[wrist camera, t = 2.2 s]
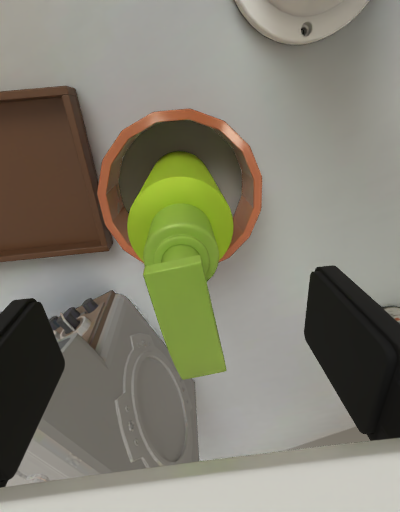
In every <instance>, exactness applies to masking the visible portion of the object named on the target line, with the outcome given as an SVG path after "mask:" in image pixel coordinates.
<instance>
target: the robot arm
mask: <svg viewBox="0 0 400 512" xmlns="http://www.w3.org/2000/svg"><path fill="white" fill-rule="evenodd" d="M369 1H370V0H235V2H236V4H237V6H238V8H239V10H240V12H241V13H242V14H243V16H244V17H245V18H246V19H247V21H248V22H249V23H250V24H251V25H252V26H253V27H254V28H255V29H256V30H258V31H259V32H260V33H261V34H262V35H264V36H266V37H268V38H270V39H272V40H274V41H276V42H280V43H284V44H289V45H301V44H308V43H312V42H316V41H319V40H321V39H323V38H325V37H327V36H329V35H331V34H333V33H335V32H336V31H338V30H339V29H341V28H343V27H344V26H346V25H347V24H348V23H349V22H350V21H351V20H352V19H354V18H355V17H356V16H357V15H358V14H359V13H360V12H361V11H362V9H363V8H364V7H365V6H366V5H367V3H368V2H369ZM301 29H304V31H305V33H304V36H303V35H302V33H301ZM304 335H305V339H306V342H307V343H308V345H309V347H310V348H311V350H312V352H313V354H314V355H315V357H316V359H317V360H318V362H319V364H320V365H321V367H322V369H323V370H324V372H325V374H326V376H327V377H328V379H329V381H330V382H331V384H332V386H333V387H334V389H335V391H336V392H337V394H338V396H339V397H340V399H341V401H342V403H343V404H344V406H345V408H346V409H347V411H348V413H349V414H350V416H351V418H352V419H353V421H354V423H355V425H356V426H357V428H358V429H359V431H360V432H361V433H363V434H367V435H368V437H369V439H370V441H365V442H355V443H346V444H337V445H328V446H320V447H312V448H303V449H295V450H287V451H279V452H271V453H263V454H255V455H246V456H238V457H230V458H222V459H215V460H207V461H199V462H191V463H183V464H175V465H168V466H160V467H152V468H144V469H137V470H129V471H121V472H113V473H106V474H98V475H91V476H83V477H76V478H68V479H61V480H54V481H46V482H39V483H31V484H24V485H16V486H9V487H5V486H6V484H7V482H8V480H9V479H11V478H13V477H14V475H15V474H16V472H17V470H18V468H19V466H20V464H21V462H22V459H23V457H24V455H25V453H26V451H27V449H28V446H29V444H30V442H31V440H32V438H33V436H34V434H35V431H36V429H37V427H38V425H39V423H40V421H41V418H42V416H43V414H44V412H45V410H46V408H47V406H48V403H49V401H50V399H51V397H52V395H53V393H54V390H55V388H56V386H57V384H58V382H59V380H60V378H61V375H62V373H63V371H64V368H65V359H64V357H63V354H62V352H61V349H60V347H59V344H58V342H57V340H56V337H55V335H54V332H53V330H52V327H51V325H50V323H49V320H48V318H47V315H46V313H45V310H44V308H43V306H42V304H41V303H40V302H37V301H36V300H35V299H33V298H30V299H21V300H14V301H12V302H11V303H10V304H9V305H8V306H7V307H6V308H5V309H4V311H3V312H2V313H1V314H0V512H400V323H399V322H397V321H396V320H395V319H394V318H393V317H392V316H391V315H390V314H389V313H387V312H386V311H385V310H384V309H383V308H382V307H381V306H380V305H379V304H377V303H376V302H375V301H374V300H373V299H372V298H371V297H370V296H369V295H367V294H366V293H365V292H364V291H363V290H362V289H361V288H360V287H358V286H357V285H356V284H355V283H354V282H353V281H352V280H351V279H350V278H348V277H347V276H346V275H345V274H344V273H343V272H342V271H341V270H340V269H338V268H337V267H336V266H323V267H317V268H316V269H315V272H312V273H311V275H310V282H309V292H308V301H307V310H306V319H305V328H304Z"/></svg>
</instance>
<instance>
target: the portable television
mask: <svg viewBox="0 0 400 512" xmlns="http://www.w3.org/2000/svg"><path fill="white" fill-rule="evenodd" d="M60 315H61V316H60V317H57V316H54V317H52V318H50V319H49V323H50V325H51V327H52V330H53V332H54V335H55V337H56V340H57V342H58V344H59V347H60V349H61V352H62V354H63V357H64V359H65V368H64V371H63V373H62V375H61V378H60V380H59V382H58V384H57V386H56V388H55V390H54V393H53V395H52V397H51V399H50V401H49V403H48V406H47V408H46V410H45V412H44V414H43V416H42V418H41V421H40V423H39V425H38V427H37V429H36V431H35V434H34V436H33V438H32V440H31V442H30V444H29V446H28V449H27V451H26V453H25V455H24V457H23V459H22V462H21V464H20V466H19V468H18V470H17V472H16V474H15V475H14V477H13V478H11V479H9V480H8V482H7V484H6V486H5V487H9V486H16V485H24V484H31V483H39V482H46V481H54V480H61V479H68V478H76V477H83V476H91V475H98V474H106V473H113V472H121V471H129V470H137V469H144V468H152V467H160V466H168V465H175V464H183V463H191V462H199V448H198V431H197V414H196V397H195V382H194V381H193V379H192V378H190V379H185V380H182V378H181V377H180V375H179V373H178V371H177V369H176V367H175V365H174V363H173V360H172V358H171V356H170V353H169V351H168V348H167V347H166V346H165V344H164V343H163V342H162V341H161V339H160V338H159V337H158V336H157V334H156V333H155V332H154V331H153V329H152V328H151V327H150V326H149V324H148V323H147V322H146V321H145V319H144V318H143V317H142V316H141V314H140V313H139V312H138V311H137V309H136V308H135V307H134V306H133V304H132V303H131V302H130V301H129V299H127V298H126V297H125V296H123V295H121V294H115V293H114V292H113V290H112V291H110V292H108V293H106V294H104V295H102V296H100V297H98V298H96V299H94V300H92V299H91V298H90V299H87V300H86V301H85V302H84V303H83V305H82V306H80V307H78V308H76V309H75V308H73V307H72V308H70V309H68V310H67V311H66V312H65V313H64V314H63V313H62V312H61V313H60Z"/></svg>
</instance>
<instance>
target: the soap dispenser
mask: <svg viewBox="0 0 400 512" xmlns="http://www.w3.org/2000/svg"><path fill="white" fill-rule="evenodd" d="M127 230H128V236H129V240H130V243H131V245H132V247H133V249H134V251H135V253H136V254H137V255H138V257H139V258H140V259H141V260H142V261H143V262H144V265H145V269H144V273H143V276H144V279H145V282H146V285H147V289H148V292H149V295H150V298H151V301H152V304H153V307H154V310H155V313H156V317H157V320H158V323H159V326H160V329H161V331H162V334H163V337H164V340H165V343H166V345H167V348H168V351H169V353H170V356H171V358H172V360H173V363H174V365H175V367H176V369H177V371H178V373H179V375H180V377H181V378H182V380H185V379H190V378H195V377H200V376H205V375H210V374H215V373H220V372H224V371H226V365H225V360H224V355H223V351H222V347H221V343H220V338H219V334H218V330H217V325H216V321H215V317H214V312H213V308H212V304H211V299H210V295H209V291H208V286H207V281H208V280H209V279H210V278H211V277H212V276H213V274H214V273H215V271H216V269H217V266H218V262H219V260H220V259H221V258H222V257H223V255H224V254H225V253H226V251H227V249H228V247H229V245H230V243H231V240H232V235H233V218H232V214H231V210H230V208H229V206H228V204H227V202H226V200H225V199H224V197H223V195H222V193H221V192H220V190H219V188H218V187H217V185H216V183H215V181H214V180H213V178H212V176H211V174H210V173H209V171H208V169H207V168H206V166H205V164H204V163H203V162H202V161H201V160H200V159H199V158H198V157H196V156H195V155H193V154H191V153H188V152H183V151H177V152H171V153H169V154H166V155H164V156H163V157H162V158H160V159H159V160H158V161H157V163H156V164H155V165H154V167H153V169H152V171H151V172H150V174H149V176H148V178H147V180H146V181H145V183H144V185H143V187H142V188H141V190H140V192H139V194H138V195H137V197H136V199H135V201H134V203H133V204H132V207H131V209H130V212H129V216H128V222H127Z"/></svg>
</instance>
